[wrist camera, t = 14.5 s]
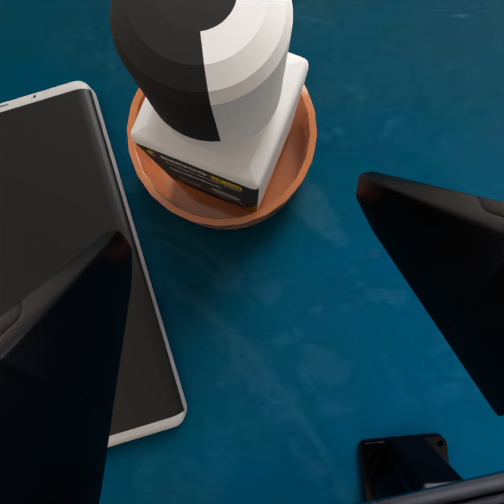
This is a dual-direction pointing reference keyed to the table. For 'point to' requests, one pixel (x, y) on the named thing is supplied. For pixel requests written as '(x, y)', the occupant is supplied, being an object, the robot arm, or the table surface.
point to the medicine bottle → (212, 89)
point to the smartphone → (80, 238)
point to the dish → (216, 210)
